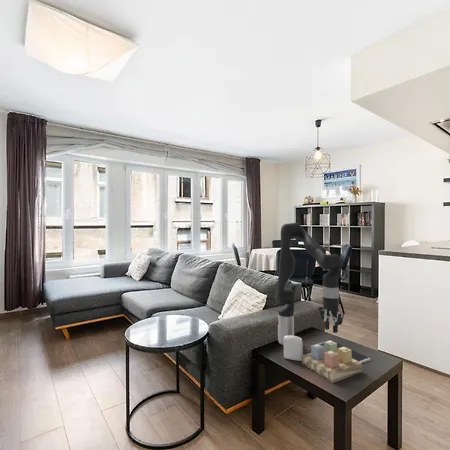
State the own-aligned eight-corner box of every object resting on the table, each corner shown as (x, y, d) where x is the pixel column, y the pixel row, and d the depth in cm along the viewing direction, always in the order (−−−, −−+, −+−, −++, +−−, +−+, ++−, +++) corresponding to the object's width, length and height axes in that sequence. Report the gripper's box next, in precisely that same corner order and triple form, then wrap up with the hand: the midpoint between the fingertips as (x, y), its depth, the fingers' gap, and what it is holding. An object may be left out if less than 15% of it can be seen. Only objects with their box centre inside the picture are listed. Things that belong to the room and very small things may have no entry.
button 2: (323, 353, 152) (323, 341, 152) (330, 351, 154) (330, 339, 154) (330, 356, 148) (330, 344, 147) (337, 354, 150) (336, 342, 150)
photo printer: (283, 358, 155) (282, 336, 155) (284, 355, 159) (284, 333, 159) (302, 362, 151) (302, 338, 151) (303, 358, 155) (303, 335, 155)
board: (302, 364, 149) (302, 355, 149) (330, 355, 158) (329, 347, 158) (332, 383, 131) (332, 373, 131) (361, 372, 140) (361, 362, 140)
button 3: (324, 364, 140) (324, 351, 139) (331, 362, 142) (331, 349, 142) (331, 368, 135) (331, 355, 135) (338, 366, 137) (338, 353, 137)
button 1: (311, 357, 148) (311, 344, 147) (317, 355, 150) (317, 343, 150) (317, 360, 143) (317, 348, 143) (324, 358, 146) (324, 346, 145)
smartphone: (354, 367, 146) (354, 364, 146) (315, 347, 170) (315, 344, 170) (371, 361, 152) (371, 358, 152) (331, 342, 176) (331, 339, 176)
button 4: (337, 360, 144) (337, 347, 144) (344, 358, 146) (343, 345, 146) (345, 364, 139) (345, 351, 139) (351, 362, 142) (351, 349, 142)
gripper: (314, 293, 143) (314, 327, 143) (337, 300, 130) (337, 337, 130) (325, 291, 146) (325, 324, 146) (348, 298, 134) (349, 334, 134)
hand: (331, 330), depth 138 cm, fingers open, 4 cm apart
